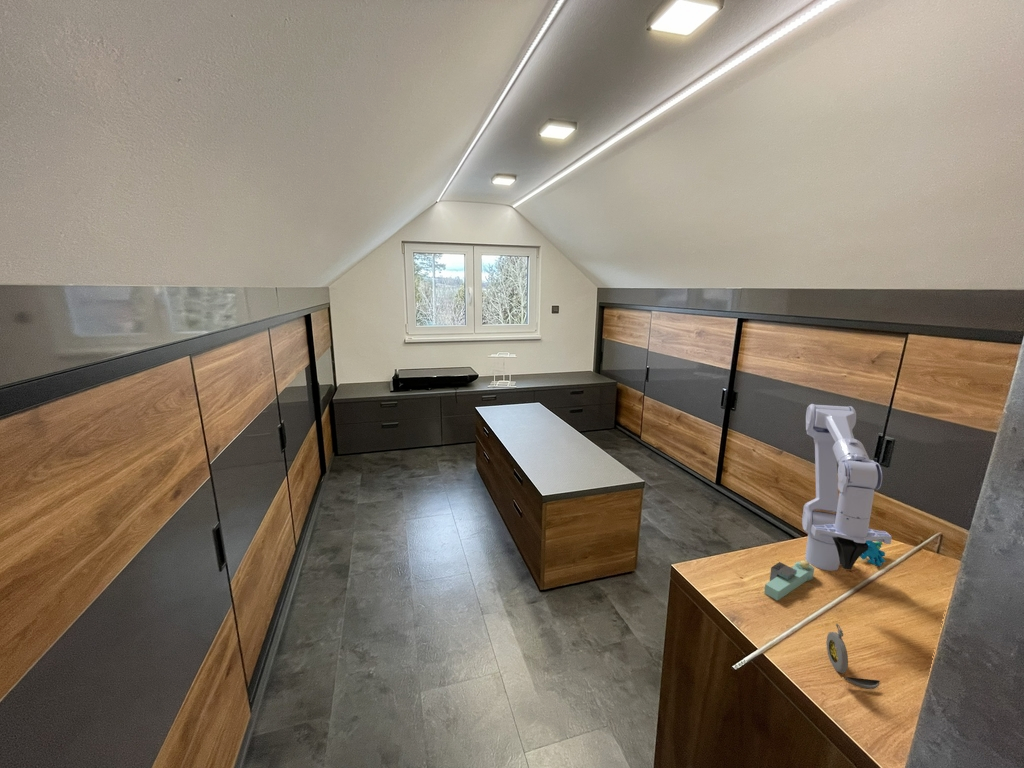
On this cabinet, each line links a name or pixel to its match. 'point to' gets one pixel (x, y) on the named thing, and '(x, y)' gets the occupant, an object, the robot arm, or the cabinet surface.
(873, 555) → the gear
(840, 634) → the pocket watch
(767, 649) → the cabinet surface
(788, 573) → the block
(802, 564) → the latch bar
